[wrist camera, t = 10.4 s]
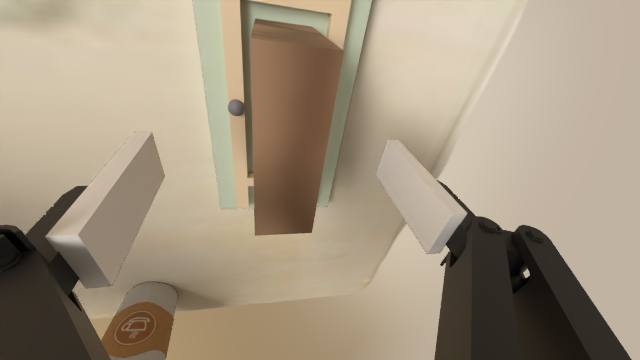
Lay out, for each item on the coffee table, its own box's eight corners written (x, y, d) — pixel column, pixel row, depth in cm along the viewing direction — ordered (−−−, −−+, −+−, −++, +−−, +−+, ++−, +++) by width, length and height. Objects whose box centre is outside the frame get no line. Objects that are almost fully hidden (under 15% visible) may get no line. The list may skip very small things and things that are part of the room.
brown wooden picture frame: (257, 163, 24) (254, 235, 17) (255, 18, 17) (249, 38, 10) (298, 164, 25) (312, 232, 18) (312, 26, 18) (345, 50, 11)
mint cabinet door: (222, 200, 28) (218, 218, 25) (181, -123, 14) (165, -146, 11) (324, 198, 30) (329, 215, 28) (379, -72, 16) (397, -82, 14)
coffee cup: (187, 278, 35) (150, 421, 23) (184, 307, 39) (151, 440, 28) (117, 276, 32) (34, 438, 20) (122, 307, 37) (56, 456, 25)
